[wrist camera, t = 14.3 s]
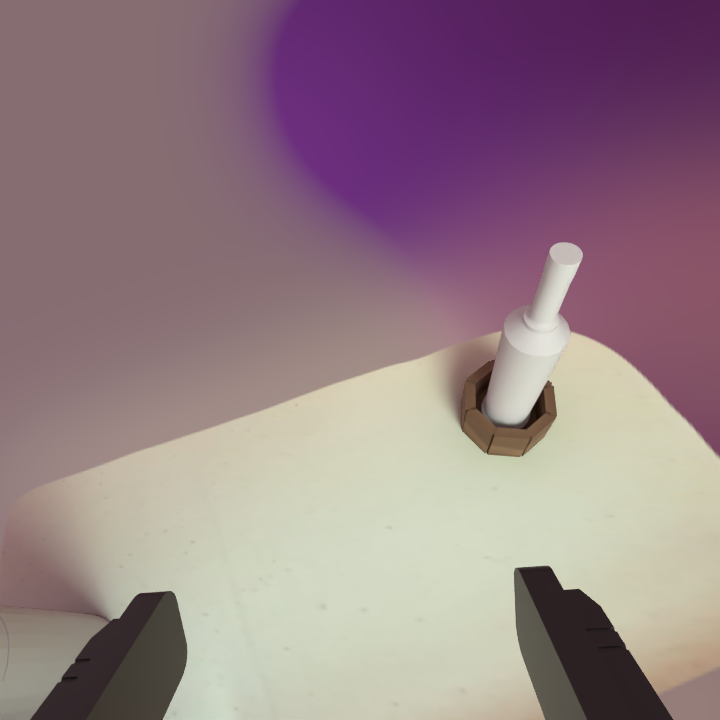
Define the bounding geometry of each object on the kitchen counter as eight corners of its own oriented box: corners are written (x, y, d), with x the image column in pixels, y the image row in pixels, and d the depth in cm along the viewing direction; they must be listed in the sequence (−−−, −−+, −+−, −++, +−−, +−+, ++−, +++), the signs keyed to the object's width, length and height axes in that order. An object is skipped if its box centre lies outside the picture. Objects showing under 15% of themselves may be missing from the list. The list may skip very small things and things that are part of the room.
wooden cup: (461, 452, 50) (465, 434, 46) (461, 381, 55) (465, 359, 51) (547, 459, 49) (559, 441, 45) (540, 385, 53) (551, 363, 49)
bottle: (534, 433, 49) (623, 275, 28) (487, 441, 49) (541, 290, 28) (518, 391, 52) (588, 220, 31) (473, 399, 52) (513, 233, 31)
